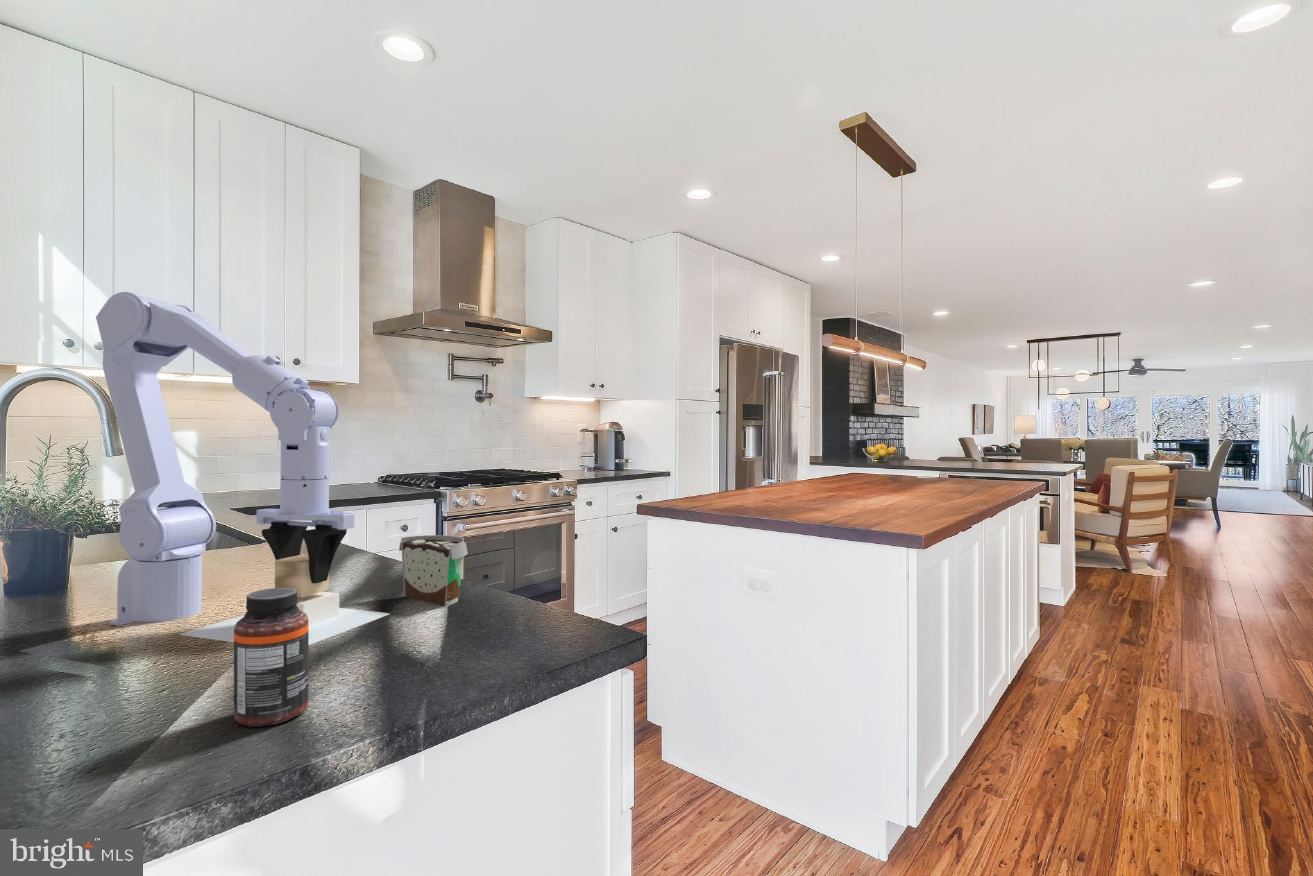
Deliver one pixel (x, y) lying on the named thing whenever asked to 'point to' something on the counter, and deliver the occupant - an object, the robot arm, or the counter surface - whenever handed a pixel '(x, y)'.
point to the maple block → (297, 576)
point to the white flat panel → (316, 631)
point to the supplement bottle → (271, 659)
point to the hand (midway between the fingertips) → (304, 580)
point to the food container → (432, 567)
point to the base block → (319, 606)
